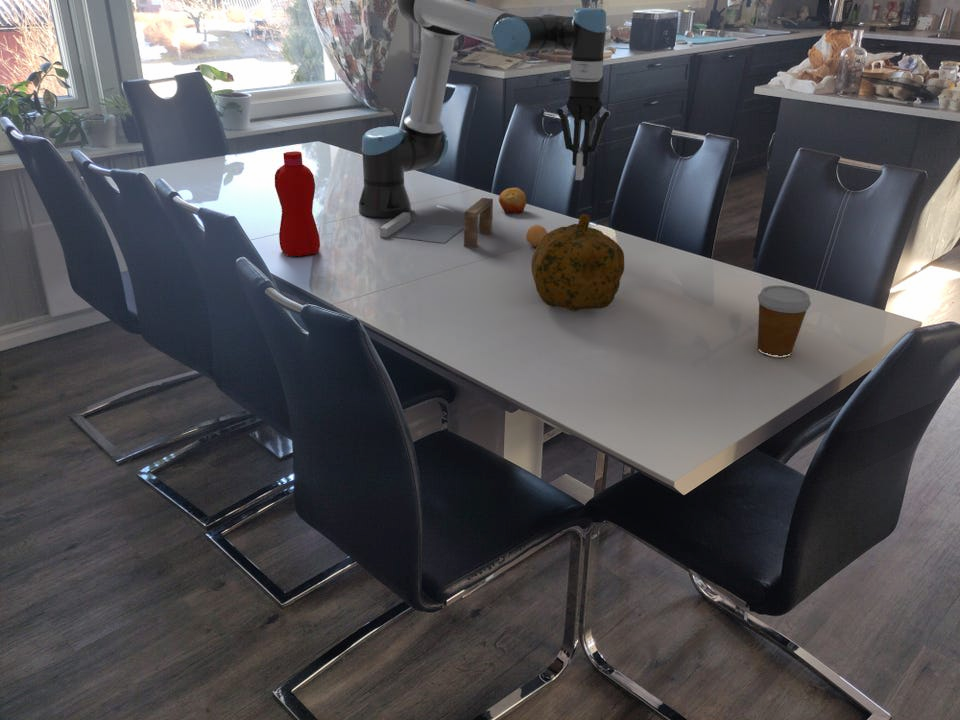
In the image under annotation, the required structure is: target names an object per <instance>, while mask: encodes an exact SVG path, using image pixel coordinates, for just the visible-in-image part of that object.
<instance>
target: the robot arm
mask: <svg viewBox="0 0 960 720" xmlns="http://www.w3.org/2000/svg"><path fill="white" fill-rule="evenodd" d="M397 6H398V9H399V12H400V14H401V16H403V18H404V19H405V20H407V21H408V22H409V23H412V24H415V25H417V26H420V28H421V29H422V31H423V36H422V44H421V50H420V54H419V55H420V56H419V62H418V68H417V73H416V78H415V79H416V81H415V85H414V90H413V91H414V92H413V96H412V103H411V110H410V114H409V115H407V116H406V117H405V118H404V119H403V124H402V128H401V127H399V126H393V125H391V126H390V125H389V126H388V125H387V126H379V127H375V128H371V129H369V130H367V131H366V132H365V133H363V135H362V139H361V141H362V142H361V145H362V146H361V152H362V171H363V187H362V190H361V195H360V198H359V201H358V212H359V214H361V215H363V216H365V217H369V218H376V219H377V218H379V219H382V218H383V219H384V218H385V219H389V218H390V219H391V218H396V217H397V216H399V215H400V214H402V213H403V212H406V213H410V214H411V211H412V207H411V205H412V204H411V200H410V198H409V195H408V192H407V189H406V187H405V173H406V172H410V171H416V170H421V169H429V168H432V167H434V166H435V167H436V166H437V165H439V164H440V163H442V162H443V161H444V159H445V158H446V155H447V154H448V149H449V140H448V139H447V137H448V136H447V133H446V132H445V130H444V125H443V123H442V122H441V116H442V115H441V114H442V112H443V111H442V109H443V104H444V100H445V94H446V89H447V84H448V79H449V73H450V67H451V62H452V58H453V52H454V47H455V41H456V39H457V38H458V37H460V36H461V35H463V36H466V37H469V38H472V39H474V40H478V41H482V42H484V43H487V44H491V45H494V46H495V47H496V48H497V50H498V51H499V52H500V53H504V54H512V55H513V54H514V55H515V54H520V53H529V52H538V51H539V52H540V51H550V50H552V51H554V50H557V51H569V52H571V53H570V54H571V59H570V71H569V72H570V73H569V77H570V78H571V80H570V81H569V89H568V90H569V92H568V100H567V101H566V105H564V106H561V107H560V108H558V109H556V113H557V115H558V117H559V118H560V123H561V128H562V134H563V139H564V146H565V149H566V150H569V151H571V152H572V161H571V163H572V166H575V177H574V181H582V180H583V179H584V175H585V167H588V165H589V164H590V153H592V152H595V151H596V150H597V149H598V146H599V144H600V142H601V137H602V134H603V131H604V128H605V125H606V121H607V120H608V118H609V117H610V116H611V115H612V114H611V113H612V112H611V110H607V109H606V108H605V107H604V106H603V102H602V99H601V98H602V86H603V85H602V80H600V79H602V78H603V73H604V72H603V71H604V52H605V42H606V35H607V33H606V32H607V12H606V10H605V9H603V8H598V7H578V8H575V9H574V11H573V16H567V15H557V14H556V15H555V14H551V13H549V14H539V15H537V16H519V15H516V14H513V13H509V12H506V11H503V10H499V9H496V8H492V7H489V6H485V5H482V4H480V3H479V4H478V3H477V0H397ZM569 113H570V114H571V116H572V117H573V124H574V125H573V127H574V128H573V135H572V134H571V129H570V128H571V127H570V122H569V116H568V114H569ZM598 113H599V115H598ZM596 115H598V116H599V121H598V123H597V126H596V130H595V133H594V136H593V139H592V126H593V125H592V124H593V119H594V118H595V117H596ZM582 121H584V129H583V130H584V132H583V146H582V147H583V148H582V151H581V150H580V149H581V147H580V146H581V136H582V135H581V132H582ZM572 136H573V139H572ZM591 139H592V143H591Z"/></svg>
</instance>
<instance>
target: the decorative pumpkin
mask: <svg viewBox="0 0 960 720" xmlns="http://www.w3.org/2000/svg"><path fill="white" fill-rule="evenodd" d="M590 221H591V216H590V215H588V214H581V215H580V216H579V219H578V223H573V224H570V225H567V226H560V227H558V228H554V229H553V230H551V231H549V232H547V234H546V235H545V236H544V237H543V239H542V240H541V242H540V243H539V245H538V246H536V248H535V250H534V252H533V255H532V257H531V265H530V267H531V274H532V278H533V282H534V286H535V288H536V292H537V294H538V295H539V297H540V298H541V300H542V301H543V302H544V304H546V306H550V307H553V308H563V309H568V310H570V311H572V312H578V311H583V310H584V311H585V310H593V309H594V310H595V309H603V308H606V307H608V306H610V304H611V303H612V302H613V301H614V299H615V296H616V294H617V293H618V292H619V289H620V282H621V278H622V276H623V273H624V272H625V254H624V250H623V249H622V247H621V246H620V245H619V244H618V243H617V242H616V241H615V240H614V239H612V238H611V237H610V236H608V235H607V234H604V233H603V232H602V231H601V230H599V229H597V228H595V227H594V228H593V227H589V225H590Z"/></svg>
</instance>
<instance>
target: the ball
mask: <svg viewBox="0 0 960 720" xmlns="http://www.w3.org/2000/svg"><path fill="white" fill-rule="evenodd" d="M546 234H548V231H547V229H546V228H545V227H544V226H543V225H539V224H535V225H534V224H533V225H531V226H530V227H529V228H528V230H527V231H526V235H525V237H526V240H527V242H528V244H529V245H531V246H532V247H537V246H538V245H539V243H540V242H541V240H542V239H543V237H544V236H545V235H546Z"/></svg>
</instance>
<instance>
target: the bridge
mask: <svg viewBox="0 0 960 720" xmlns="http://www.w3.org/2000/svg"><path fill="white" fill-rule="evenodd" d="M493 207H494V199H493V198H488V197H481V198H480V199H479V200H477V201H476V202H475V203H473V205H471V206H470V207H468V208H467V209H466V210H464V212H463V214H464V217H463V218H464V219H463V223H464V224H463V247H468V248H476V247H477V246H478V243H479V242H478V236H479V235H478V233H479V234H487V235H490V234H492V233H493V213H494V212H493V211H494V208H493ZM478 222H479V223H478ZM478 227H479V229H478Z"/></svg>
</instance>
